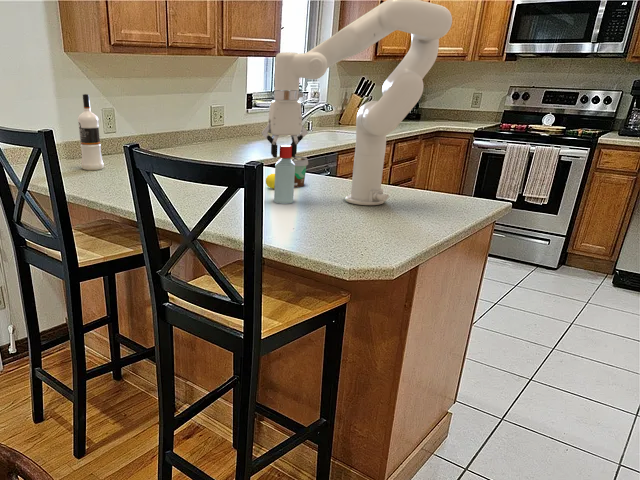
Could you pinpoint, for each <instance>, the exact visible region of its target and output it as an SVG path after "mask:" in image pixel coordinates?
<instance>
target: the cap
mask: <svg viewBox="0 0 640 480" xmlns="http://www.w3.org/2000/svg"><path fill="white" fill-rule="evenodd" d="M278 155H279V159H280V158H290V159H292V158H293V157H292V146H291V144H281V145H279V154H278Z"/></svg>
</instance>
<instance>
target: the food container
mask: <svg viewBox="0 0 640 480" xmlns="http://www.w3.org/2000/svg"><path fill="white" fill-rule="evenodd" d="M291 160H292V161H293V163H295V178H294V188H302V187H304V186H305V180H306V173H307V166H308V165H309V160H308V158H307V157H306V156H300V155H295V157H293V159H291Z"/></svg>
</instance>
